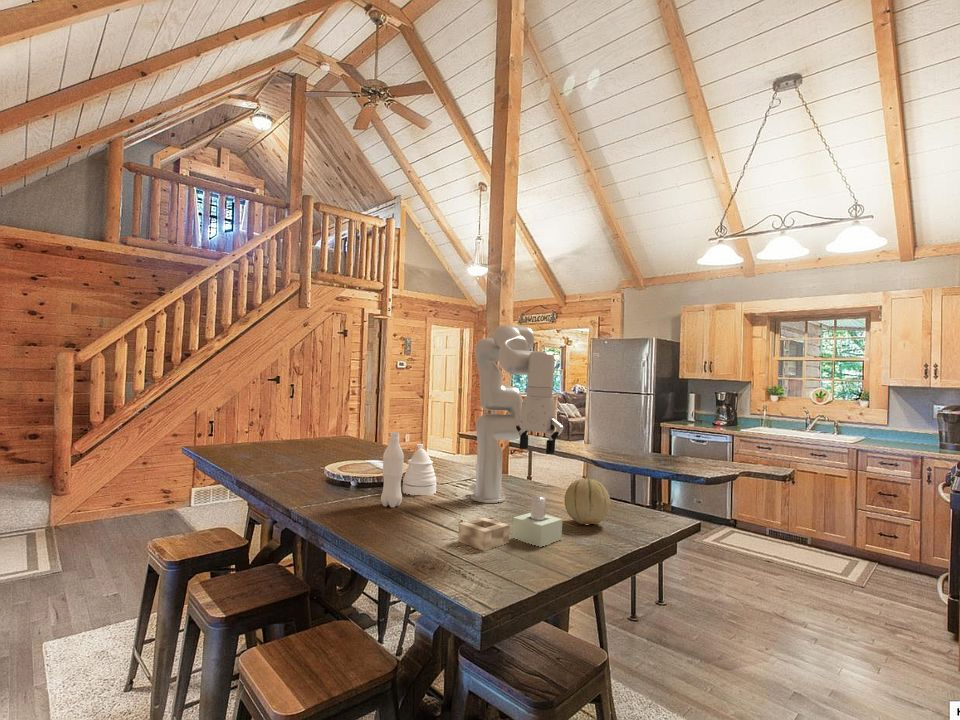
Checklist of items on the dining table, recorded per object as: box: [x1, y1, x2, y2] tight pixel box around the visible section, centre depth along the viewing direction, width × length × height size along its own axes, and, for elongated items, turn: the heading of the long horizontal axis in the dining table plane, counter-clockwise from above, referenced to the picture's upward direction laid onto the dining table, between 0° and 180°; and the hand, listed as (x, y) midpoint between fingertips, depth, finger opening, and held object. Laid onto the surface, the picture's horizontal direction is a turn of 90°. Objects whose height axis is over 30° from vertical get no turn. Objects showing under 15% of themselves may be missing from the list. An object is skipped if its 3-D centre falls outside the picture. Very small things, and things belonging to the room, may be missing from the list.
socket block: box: [457, 516, 511, 552], centre depth 143 cm, size 10×10×5 cm
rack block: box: [512, 512, 563, 548], centre depth 147 cm, size 10×10×6 cm
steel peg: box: [530, 495, 547, 522], centre depth 148 cm, size 4×4×12 cm
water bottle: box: [380, 431, 405, 508], centre depth 177 cm, size 7×7×25 cm
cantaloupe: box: [563, 475, 611, 525], centre depth 165 cm, size 15×15×15 cm
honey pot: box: [402, 443, 437, 496], centre depth 199 cm, size 13×13×18 cm
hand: (536, 451), depth 152 cm, fingers open, 9 cm apart
